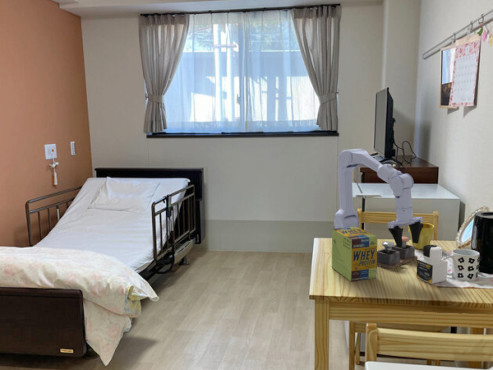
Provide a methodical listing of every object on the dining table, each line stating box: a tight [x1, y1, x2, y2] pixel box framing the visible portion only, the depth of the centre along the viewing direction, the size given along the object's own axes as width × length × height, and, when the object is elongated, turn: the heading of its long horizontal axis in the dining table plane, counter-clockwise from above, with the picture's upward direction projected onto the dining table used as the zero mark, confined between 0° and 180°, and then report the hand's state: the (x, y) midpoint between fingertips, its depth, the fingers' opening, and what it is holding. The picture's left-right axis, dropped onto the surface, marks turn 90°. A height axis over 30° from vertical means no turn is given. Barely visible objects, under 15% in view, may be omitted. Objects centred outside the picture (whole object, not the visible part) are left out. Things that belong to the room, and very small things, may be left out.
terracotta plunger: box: [400, 235, 410, 249], centre depth 172 cm, size 4×4×4 cm
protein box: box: [331, 227, 378, 282], centre depth 158 cm, size 10×15×16 cm
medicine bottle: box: [416, 244, 448, 285], centre depth 150 cm, size 7×7×12 cm
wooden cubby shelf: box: [377, 243, 418, 270], centre depth 169 cm, size 18×8×5 cm, turn 126°
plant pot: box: [407, 222, 435, 250], centre depth 185 cm, size 10×10×10 cm
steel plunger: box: [381, 240, 395, 254], centre depth 166 cm, size 4×4×4 cm
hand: (407, 244), depth 156 cm, fingers open, 7 cm apart
